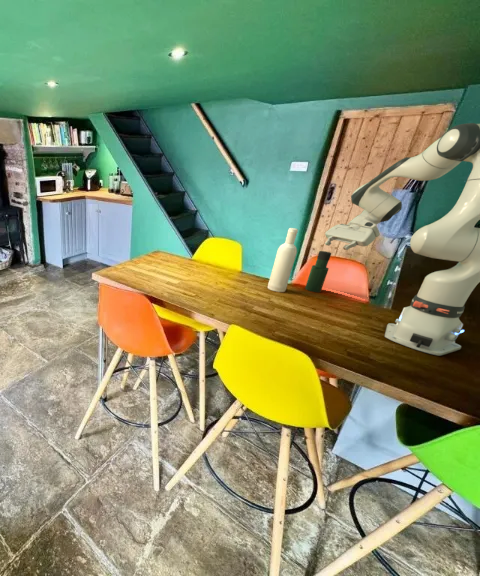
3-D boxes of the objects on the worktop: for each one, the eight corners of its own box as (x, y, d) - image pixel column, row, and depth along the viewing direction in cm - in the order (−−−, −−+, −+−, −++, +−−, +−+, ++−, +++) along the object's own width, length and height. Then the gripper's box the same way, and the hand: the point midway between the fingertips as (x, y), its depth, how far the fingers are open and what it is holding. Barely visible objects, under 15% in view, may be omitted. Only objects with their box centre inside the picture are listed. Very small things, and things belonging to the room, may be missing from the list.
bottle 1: (286, 293, 143) (305, 230, 133) (267, 290, 146) (284, 228, 136) (284, 288, 150) (302, 228, 140) (266, 285, 153) (282, 226, 143)
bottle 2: (317, 293, 147) (327, 261, 141) (302, 288, 152) (312, 258, 146) (323, 291, 150) (333, 260, 145) (308, 287, 155) (318, 257, 150)
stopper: (323, 271, 144) (328, 253, 141) (312, 268, 148) (317, 251, 145) (327, 269, 147) (333, 252, 144) (316, 267, 150) (321, 250, 147)
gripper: (336, 218, 151) (314, 237, 152) (379, 225, 132) (353, 246, 134) (341, 228, 153) (319, 246, 155) (383, 235, 135) (358, 256, 136)
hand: (335, 246), depth 144 cm, fingers open, 8 cm apart
